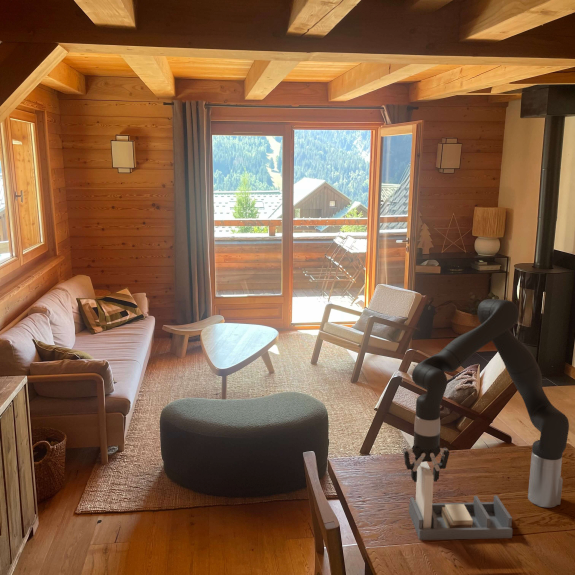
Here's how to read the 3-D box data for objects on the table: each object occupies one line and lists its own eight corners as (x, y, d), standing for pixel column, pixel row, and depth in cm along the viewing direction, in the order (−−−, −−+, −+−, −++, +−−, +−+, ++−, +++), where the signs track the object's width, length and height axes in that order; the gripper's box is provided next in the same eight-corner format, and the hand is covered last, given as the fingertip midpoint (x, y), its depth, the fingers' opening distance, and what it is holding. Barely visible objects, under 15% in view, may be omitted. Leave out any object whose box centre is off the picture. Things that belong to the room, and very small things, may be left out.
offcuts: (462, 514, 185) (463, 502, 184) (473, 534, 175) (474, 521, 174) (441, 515, 185) (441, 502, 184) (450, 534, 175) (451, 521, 174)
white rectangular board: (422, 515, 184) (425, 458, 180) (430, 535, 175) (433, 475, 170) (415, 515, 184) (417, 458, 180) (422, 535, 175) (425, 475, 170)
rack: (494, 513, 187) (495, 493, 186) (511, 540, 173) (513, 520, 172) (408, 514, 187) (409, 495, 185) (419, 542, 173) (420, 522, 171)
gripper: (447, 423, 177) (444, 473, 180) (400, 424, 176) (398, 474, 180) (454, 434, 169) (451, 486, 173) (405, 435, 169) (404, 487, 173)
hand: (424, 480), depth 176 cm, fingers open, 5 cm apart
